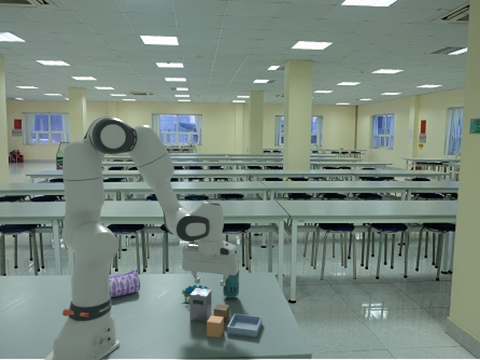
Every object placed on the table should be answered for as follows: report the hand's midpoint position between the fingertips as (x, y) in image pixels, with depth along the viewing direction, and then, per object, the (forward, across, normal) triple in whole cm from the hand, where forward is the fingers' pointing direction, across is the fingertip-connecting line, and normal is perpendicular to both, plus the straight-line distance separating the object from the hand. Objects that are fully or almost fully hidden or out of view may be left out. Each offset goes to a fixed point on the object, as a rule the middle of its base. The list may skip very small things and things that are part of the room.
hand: (209, 284), depth 141 cm
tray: (+13, +14, -4) cm, 19 cm away
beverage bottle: (+13, +3, +19) cm, 23 cm away
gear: (+13, -10, +14) cm, 22 cm away
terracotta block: (+13, +5, -9) cm, 17 cm away
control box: (+13, -3, -1) cm, 13 cm away
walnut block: (+13, +4, 0) cm, 14 cm away
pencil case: (+14, -43, +10) cm, 46 cm away
